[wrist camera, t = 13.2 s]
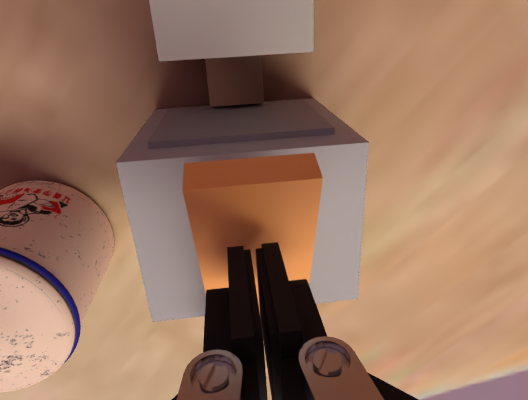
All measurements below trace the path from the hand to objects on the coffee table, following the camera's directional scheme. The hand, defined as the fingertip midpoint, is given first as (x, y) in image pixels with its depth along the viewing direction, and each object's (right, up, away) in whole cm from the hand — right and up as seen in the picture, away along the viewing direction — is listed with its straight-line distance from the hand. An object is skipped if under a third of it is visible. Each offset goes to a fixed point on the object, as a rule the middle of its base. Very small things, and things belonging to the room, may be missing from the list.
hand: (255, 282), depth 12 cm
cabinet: (-1, +5, +13) cm, 14 cm away
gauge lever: (0, +1, +3) cm, 3 cm away
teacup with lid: (-16, 0, +14) cm, 21 cm away
